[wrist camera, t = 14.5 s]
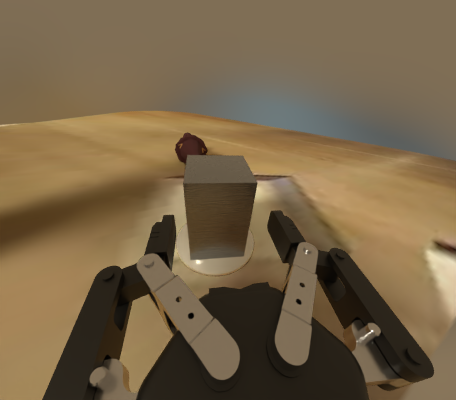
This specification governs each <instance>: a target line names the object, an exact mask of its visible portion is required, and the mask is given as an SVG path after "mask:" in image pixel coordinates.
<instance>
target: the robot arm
mask: <svg viewBox="0 0 456 400" xmlns="http://www.w3.org/2000/svg"><path fill="white" fill-rule="evenodd" d="M267 228H268V232H269V234H270V236H271V238H272V240H273V243H274V245H275V247H276V249H277V251H278V254H279V256H280V258H281V260H282V262H283V263H289V265H290V266H289V268H288V271H287V274H286V278H285V281H284V284H283V288H282V290H281V291H280V290H278V289H276V288H272V287H270V286H269V284H268V282H265V283H256V284H252V285H250V286H247V287H245V288H242V289H235V288H228V287H219V288H210V289H209V294H206V295H204V296H203V297H201V298H200V299H199V300H198V299H197V297H196V296H195V295H194V294H193V293H192V291H191V290H190V289H189V288H188V287H187V285H186V284H185V283H184V282H183V281H182V279H181V278H180V277H179V276H178V275H176V276H175V275H174V274H173V273H172V264H173V256H174V249H175V241H176V226H175V219H174V215H164V216H163V219H162V222H156V223H155V225H154V226H153V227H152V230H151V234H150V238H149V240H148V244H147V247H146V251H145V254H144V256H143V257H142V258H140V259H139V261H138V263H136V264H134V265H132V266H129V267H126V268H123V269H121V268H120V267H118V266H109V267H107V268H105V269H103V270H101V271H100V272H99V273H98V274H97V275H96V277H95V279H94V281H93V284H92V286H91V288H90V290H89V293H88V295H87V297H86V300H85V302H84V304H83V307H82V309H81V311H80V314H79V316H78V318H77V321H76V323H75V325H74V327H73V330H72V332H71V334H70V337H69V339H68V341H67V344H66V346H65V348H64V351H63V353H62V355H61V358H60V360H59V362H58V364H57V367H56V369H55V371H54V374H53V376H52V378H51V381H50V383H49V385H48V388H47V390H46V392H45V395H44V397H43V399H42V400H369V397H368V393H367V387H366V386H370V385H377V386H379V387H380V388H382V389H384V390H386V391H391V390H394V389H397V388H400V387H403V386H406V385H409V384H413V383H415V382H419V381H422V380H424V379H428V378H430V377H432V376H433V374H434V369H433V365H432V363H431V361H430V359H429V358H428V357H427V355H426V354H425V353H424V351H423V350H422V349H421V347H420V346H419V345H418V344H417V342H416V341H415V340H414V338H413V337H412V336H411V335H410V333H409V332H408V331H407V329H406V328H405V327H404V326H403V324H402V323H401V322H400V320H399V319H398V318H397V316H396V315H395V314H394V313H393V311H392V310H391V309H390V307H389V306H388V305H387V304H386V302H385V301H384V300H383V298H382V297H381V296H380V295H379V293H378V292H377V291H376V289H375V288H374V287H373V286H372V284H371V283H370V282H369V280H368V279H367V278H366V277H365V275H364V274H363V273H362V271H361V270H360V269H359V268H358V266H357V265H356V264H355V262H354V261H353V260H352V259H351V257H350V256H349V255H348V254H347V253H346V252H345V251H343V250H341V249H338V248H332V249H330V251H329V252H325V251H320V250H317V249H316V247H315V246H313V245H312V244H310V243H307V242H306V241H305V239H304V238H303V236H302V235H301V233H300V232H299V230H298V229H297V227H296V226H295V224H294V223H293V221H292V220H291V219H290V218H289V217H287V216H284V215H283V213H282V211H280V210H279V211H271V213H270V217H269V221H268V225H267ZM339 278H340V279H339ZM317 279H318V281H319V283H320V285H321V286H322V288H323V290H324V292H325V294H326V296H327V298H328V300H329V302H330V303H331V305H332V307H333V309H334V311H335V313H336V315H337V317H338V319H339V320H340V322H341V324H342V326H343V328H344V332H343V337H344V340H345V344H344V343H343V342H341V341H340V340H339V339H338V338H337V337H335V336H334V335H333V334H332V333H331V332H330V331H328V330H327V329H326V328H325V327H324V326H323V325H321V324H320V323H319V322H318V321H317V320H315V319H314V318H313V317H312V311H313V304H314V297H315V289H316V282H317ZM340 280H341V281H340ZM342 283H343V284H342ZM344 286H345V287H344ZM147 294H148V295H149V297H150V299H151V300H152V302H153V303H154V305H155V307H156V308H157V310H158V311H159V313H160V315H161V316H162V318H163V320H164V322H165V324H166V326H167V327H168V329H169V331H170V332H171V334H172V335H173V337H172V338H171V340H170V341H169V343H168V344H167V346H166V347H165V349H164V350H163V352H162V353H161V355H160V356H159V358H158V359H157V361H156V362H155V364H154V366H153V367H152V369H151V370H150V372H149V373H148V375H147V376H146V378H145V379H144V381H143V383H142V385H141V387H140V389H139V392H138V393H131V391H130V388H129V372H128V370H127V368H126V367H125V366H124V365H123V364H122V363H121V362H120V361H119V359H120V355H121V351H122V346H123V342H124V337H125V333H126V328H127V324H128V319H129V315H130V310H131V306H132V301H133V300H135V299H138V298H140V297H142V296H145V295H147Z"/></svg>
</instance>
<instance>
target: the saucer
mask: <svg viewBox="0 0 456 400" xmlns="http://www.w3.org/2000/svg"><path fill="white" fill-rule="evenodd" d="M176 248H177V253H178V256H179V258H180V259H181V261H182V262H183V263H184V264H185V265H186V266H187V267H188V268H189V269H191V270H193V271H194V272H197V273H199V274H203V275H207V276H222V275H227V274H231V273H233V272H235V271H237V270H239V269H241V268H242V267H243V266H244V265H245V264H246V263H247V262H248V261H249V259H250V257H251V255H252V252H253V248H254V238H253V235H252V232H251V231H250V229H249V231H248V237H247V242H246V248H245V253H244V256H242V257H229V258H215V259H201V260H190V249H189V239H188V228H187V223H186V224H185V225H184V226H183V227H182V228H181V229H180V231H179V233H178V235H177V239H176Z"/></svg>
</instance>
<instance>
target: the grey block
mask: <svg viewBox="0 0 456 400" xmlns="http://www.w3.org/2000/svg"><path fill="white" fill-rule="evenodd" d="M183 186H184V197H185V207H186V218H187V228H188V239H189V249H190V260H201V259H215V258H229V257H242V256H244V253H245V248H246V242H247V237H248V231H249V226H250V220H251V215H252V209H253V204H254V198H255V193H256V188H257V181H256V179H255V177H254V175H253V174H252V172H251V170H250V168H249V166H248V164H247V163H246V161H245V159H244V157H243V156H222V155H187V161H186V168H185V175H184V182H183Z"/></svg>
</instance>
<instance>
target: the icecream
mask: <svg viewBox="0 0 456 400" xmlns="http://www.w3.org/2000/svg"><path fill="white" fill-rule="evenodd" d="M175 151H176V153H177V156H178V159H179V160H180V161H181V162H184V163H186V161H187V155H206V153H207V148H206V146H205V144H204V142H203V140H201V139H200V138H198V137H196V136H195V135H191V134H190V133H185V134H184V136H183V138H181V139H180V140H179V142H178V143H177V144H176V148H175Z"/></svg>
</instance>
